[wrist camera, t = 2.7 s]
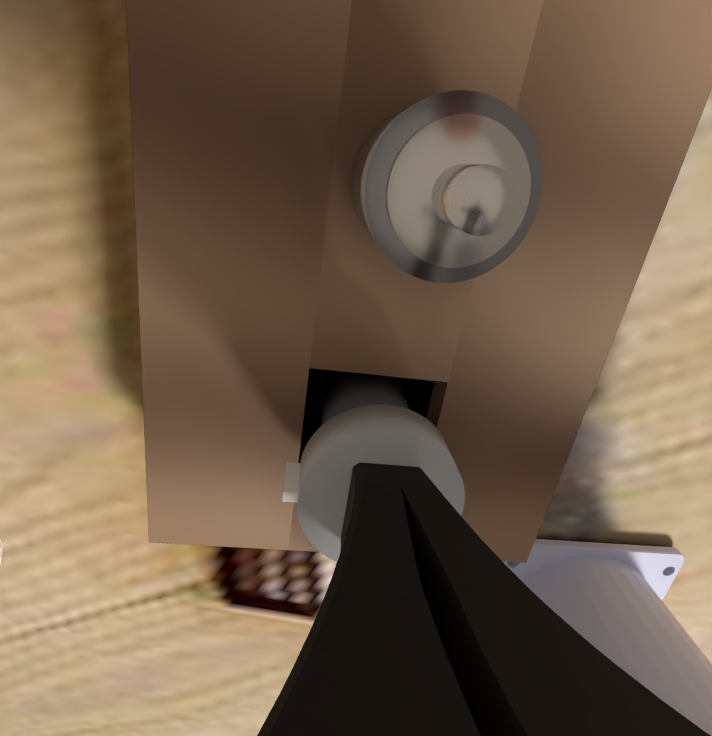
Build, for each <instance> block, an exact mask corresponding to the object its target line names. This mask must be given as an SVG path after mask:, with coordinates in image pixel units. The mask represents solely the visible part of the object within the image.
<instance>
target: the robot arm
mask: <svg viewBox="0 0 712 736" xmlns="http://www.w3.org/2000/svg"><path fill="white" fill-rule="evenodd" d="M684 559H685V558H684V555H683V554H682V553H681V552H680V551H679V550H678V549H677V548H674V547H660V546H643V545H627V544H610V543H594V542H577V541H561V540H545V539H536V540H535V542H534V545H533V547H532V550H531V552H530V555H529V557H528V560H527V563H521V562H502V561H501V559H500V558H499V557H498V556H497V555H496V554H495V553H494V552H493V551H492V550H491V549H490V548H489V547H488V546H487V545H486V543H485V542H484V541H483V540H482V539H481V538H480V537H479V536H478V535H477V534H476V532H475V531H474V530H473V529H472V528H471V527H470V526H469V525H468V523H467V522H466V521H465V520H464V519H463V518H462V517H461V515H460V514H459V513H458V512H457V511H456V510H455V508H454V507H453V506H452V505H451V504H450V502H449V501H448V500H447V499H446V498H445V497H444V495H443V494H442V493H441V492H440V491H439V489H438V488H437V487H436V486H435V484H434V483H433V482H432V481H431V480H430V478H429V477H428V476H427V475H426V474H425V473H424V471H423V470H422V469H421V468H420V467H413V466H400V465H387V464H375V463H362V462H359V463H358V464H356V465H355V466H353V470H352V476H351V481H350V487H349V493H348V499H347V505H346V510H345V516H344V522H343V528H342V533H341V551H340V555H339V558H338V561H337V564H336V567H335V570H334V573H333V576H332V579H331V582H330V584H329V587H328V589H327V592H326V595H325V597H324V600H323V602H322V605H321V607H320V609H319V612H318V614H317V616H316V619H315V621H314V623H313V626H312V628H311V630H310V632H309V635H308V637H307V639H306V641H305V643H304V645H303V647H302V650H301V652H300V654H299V656H298V658H297V660H296V662H295V665H294V667H293V669H292V671H291V673H290V675H289V677H288V679H287V681H286V683H285V685H284V687H283V689H282V691H281V693H280V695H279V697H278V698H277V700H276V702H275V704H274V706H273V708H272V709H271V711H270V713H269V715H268V717H267V719H266V721H265V722H264V724H263V726H262V728H261V730H260V732H259V733H258V735H257V736H712V664H711V663H710V661H709V660H708V659H707V658H706V656H705V655H704V654H703V652H702V651H701V650H700V649H699V647H698V646H697V645H696V643H695V642H694V641H693V640H692V638H691V637H690V636H689V635H688V633H687V632H686V631H685V629H684V628H683V627H682V626H681V624H680V623H679V622H678V620H677V619H676V618H675V617H674V615H673V614H672V613H671V612H670V610H669V609H668V608H667V606H666V605H665V604H664V603H663V601H662V600H663V598H664V596H665V594H666V593H667V591H668V589H669V587H670V586H671V584H672V582H673V580H674V579H675V577H676V575H677V573H678V572H679V570H680V568H681V566H682V565H683V563H684Z"/></svg>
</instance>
